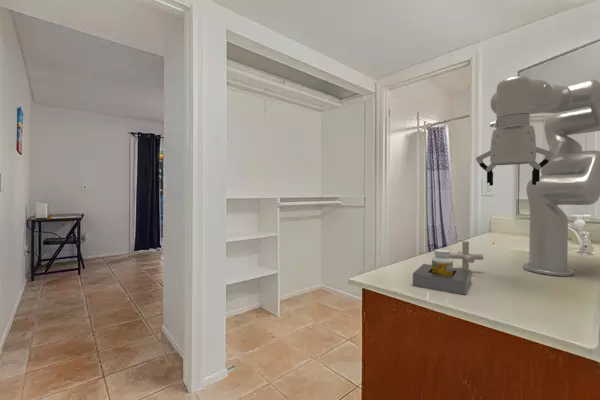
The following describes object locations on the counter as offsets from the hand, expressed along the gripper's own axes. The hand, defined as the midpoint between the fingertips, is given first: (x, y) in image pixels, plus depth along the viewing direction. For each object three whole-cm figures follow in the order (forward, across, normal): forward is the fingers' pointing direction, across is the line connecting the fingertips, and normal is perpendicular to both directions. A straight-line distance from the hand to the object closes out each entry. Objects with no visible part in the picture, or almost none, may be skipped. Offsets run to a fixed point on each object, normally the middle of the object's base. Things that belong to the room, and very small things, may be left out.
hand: (511, 185), depth 79 cm
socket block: (+28, -16, -10) cm, 34 cm away
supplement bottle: (+28, -16, -10) cm, 34 cm away
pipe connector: (+28, -12, +8) cm, 32 cm away
